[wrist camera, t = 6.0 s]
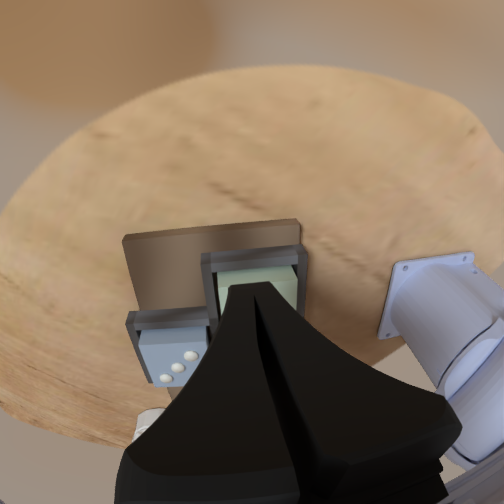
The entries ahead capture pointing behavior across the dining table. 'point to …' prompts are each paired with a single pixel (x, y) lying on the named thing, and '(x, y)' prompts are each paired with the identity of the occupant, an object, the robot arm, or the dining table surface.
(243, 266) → the board
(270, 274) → the tile one
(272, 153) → the dining table surface
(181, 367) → the tile three
